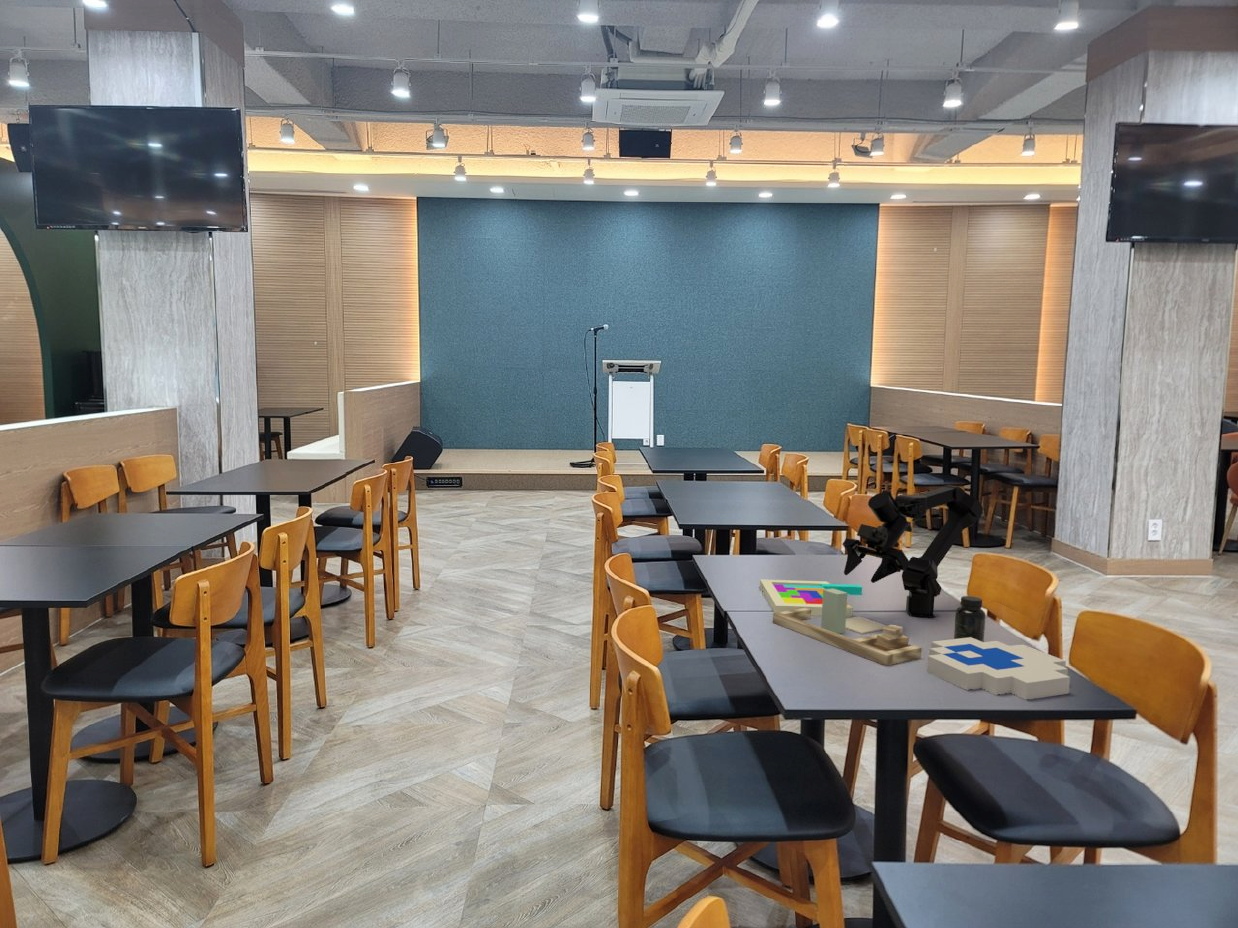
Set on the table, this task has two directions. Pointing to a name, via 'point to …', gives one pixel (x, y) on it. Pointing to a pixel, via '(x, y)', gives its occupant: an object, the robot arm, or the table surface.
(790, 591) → the puzzle game
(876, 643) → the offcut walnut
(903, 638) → the offcut oak
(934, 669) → the pixel art tile
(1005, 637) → the table surface
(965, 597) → the supplement bottle
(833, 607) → the tall green pillar
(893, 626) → the offcut maple
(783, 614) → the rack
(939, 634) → the table surface
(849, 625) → the mat
